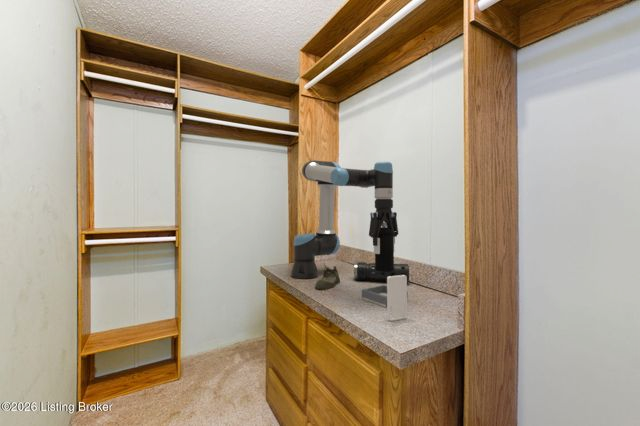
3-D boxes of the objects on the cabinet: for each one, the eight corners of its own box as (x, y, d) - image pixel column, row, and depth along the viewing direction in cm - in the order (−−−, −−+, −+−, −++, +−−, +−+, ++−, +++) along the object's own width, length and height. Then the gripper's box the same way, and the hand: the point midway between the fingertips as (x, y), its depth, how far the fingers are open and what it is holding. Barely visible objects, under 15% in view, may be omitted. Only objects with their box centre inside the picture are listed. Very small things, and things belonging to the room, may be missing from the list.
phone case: (404, 316, 100) (404, 274, 100) (407, 318, 99) (406, 275, 99) (387, 319, 98) (386, 276, 98) (389, 321, 96) (389, 277, 96)
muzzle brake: (409, 285, 143) (409, 265, 143) (353, 283, 148) (353, 263, 148) (407, 281, 152) (407, 262, 152) (355, 279, 158) (355, 260, 158)
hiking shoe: (312, 291, 135) (312, 266, 135) (330, 281, 152) (329, 259, 152) (328, 293, 131) (328, 267, 131) (344, 283, 148) (344, 260, 148)
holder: (361, 299, 121) (361, 289, 121) (383, 293, 129) (383, 284, 129) (385, 307, 110) (385, 297, 110) (407, 301, 118) (407, 291, 118)
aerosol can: (390, 272, 114) (390, 223, 114) (371, 270, 118) (371, 222, 118) (397, 269, 121) (396, 222, 121) (378, 267, 125) (378, 222, 125)
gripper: (372, 197, 110) (372, 256, 110) (407, 199, 122) (407, 251, 122) (359, 198, 116) (359, 253, 116) (393, 199, 128) (393, 249, 128)
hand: (384, 252), depth 119 cm, fingers closed on aerosol can, 8 cm apart
